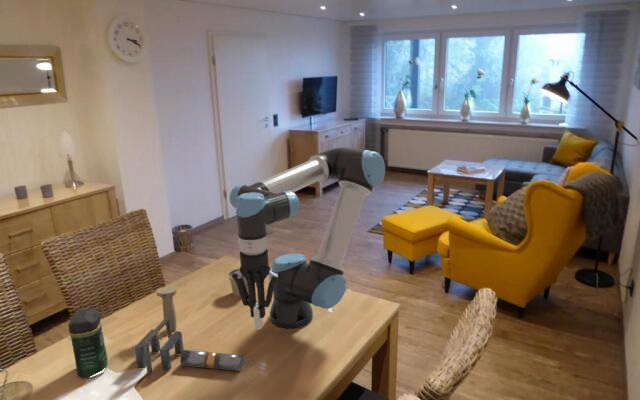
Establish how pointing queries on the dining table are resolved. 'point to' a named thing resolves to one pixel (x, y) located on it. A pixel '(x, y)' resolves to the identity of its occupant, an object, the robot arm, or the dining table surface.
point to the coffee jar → (88, 342)
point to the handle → (168, 304)
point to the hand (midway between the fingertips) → (258, 326)
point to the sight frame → (156, 332)
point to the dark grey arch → (164, 351)
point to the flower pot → (233, 283)
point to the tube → (212, 360)
